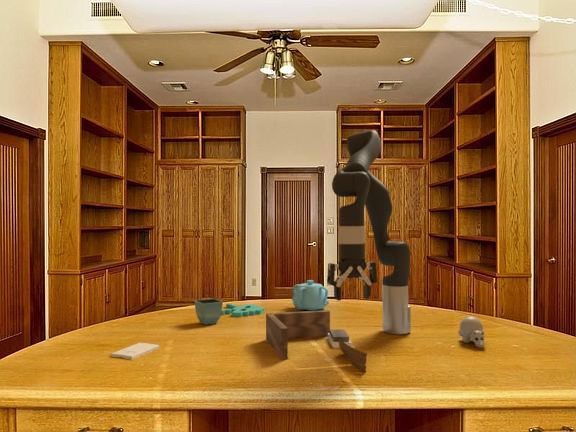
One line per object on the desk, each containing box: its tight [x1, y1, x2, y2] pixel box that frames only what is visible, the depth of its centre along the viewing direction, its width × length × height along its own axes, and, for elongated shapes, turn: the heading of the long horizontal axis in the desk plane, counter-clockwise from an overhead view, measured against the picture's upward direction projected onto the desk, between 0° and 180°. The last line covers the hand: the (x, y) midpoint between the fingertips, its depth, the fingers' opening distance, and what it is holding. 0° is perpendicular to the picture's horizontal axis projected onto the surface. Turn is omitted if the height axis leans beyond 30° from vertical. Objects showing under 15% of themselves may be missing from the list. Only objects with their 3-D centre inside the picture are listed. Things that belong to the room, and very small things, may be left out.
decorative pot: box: [291, 279, 330, 311], centre depth 199 cm, size 16×16×14 cm
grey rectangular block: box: [330, 328, 350, 342], centre depth 141 cm, size 5×10×2 cm, turn 1°
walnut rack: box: [265, 309, 331, 360], centre depth 138 cm, size 22×22×9 cm
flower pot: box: [194, 298, 224, 326], centre depth 170 cm, size 9×9×9 cm
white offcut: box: [327, 333, 353, 349], centre depth 140 cm, size 6×12×2 cm, turn 3°
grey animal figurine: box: [457, 315, 485, 349], centre depth 140 cm, size 7×12×8 cm, turn 178°
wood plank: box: [339, 340, 368, 373], centre depth 121 cm, size 15×2×5 cm, turn 20°
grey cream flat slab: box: [323, 336, 357, 350], centre depth 140 cm, size 7×14×2 cm, turn 9°
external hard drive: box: [109, 342, 160, 360], centre depth 132 cm, size 2×8×12 cm
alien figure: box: [221, 302, 265, 318], centre depth 193 cm, size 20×2×20 cm
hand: (352, 299), depth 120 cm, fingers open, 8 cm apart
